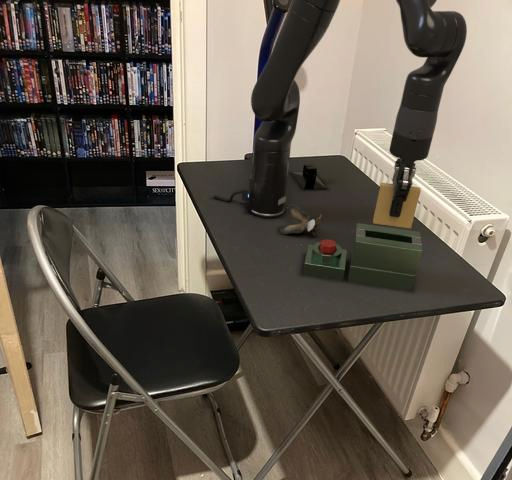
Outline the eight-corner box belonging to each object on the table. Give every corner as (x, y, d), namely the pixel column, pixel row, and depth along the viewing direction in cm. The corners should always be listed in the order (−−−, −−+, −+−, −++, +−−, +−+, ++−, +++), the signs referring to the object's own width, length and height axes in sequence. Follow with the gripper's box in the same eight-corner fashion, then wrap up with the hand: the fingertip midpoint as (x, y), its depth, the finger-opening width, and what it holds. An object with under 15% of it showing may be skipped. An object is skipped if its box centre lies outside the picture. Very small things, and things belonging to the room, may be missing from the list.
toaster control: (302, 274, 127) (305, 255, 124) (306, 255, 134) (309, 236, 131) (342, 281, 126) (346, 261, 123) (344, 261, 133) (348, 242, 130)
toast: (372, 223, 121) (381, 185, 116) (372, 220, 122) (381, 182, 117) (410, 228, 120) (420, 190, 115) (410, 225, 121) (420, 187, 116)
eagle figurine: (319, 222, 146) (285, 211, 146) (325, 208, 139) (290, 196, 139) (310, 248, 143) (276, 236, 143) (316, 234, 136) (280, 222, 136)
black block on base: (291, 173, 174) (292, 158, 171) (313, 173, 175) (315, 158, 172) (303, 190, 164) (305, 174, 161) (327, 189, 166) (329, 173, 163)
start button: (318, 252, 126) (319, 245, 125) (319, 245, 129) (321, 238, 128) (334, 255, 126) (336, 248, 125) (335, 247, 128) (336, 240, 127)
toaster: (347, 281, 126) (355, 241, 120) (349, 261, 133) (356, 222, 127) (411, 291, 125) (422, 251, 119) (409, 270, 132) (420, 231, 126)
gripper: (393, 117, 115) (376, 198, 125) (394, 139, 104) (376, 225, 115) (431, 122, 114) (410, 203, 125) (436, 144, 103) (413, 231, 114)
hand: (394, 213), depth 120 cm, fingers closed on toast, 1 cm apart
